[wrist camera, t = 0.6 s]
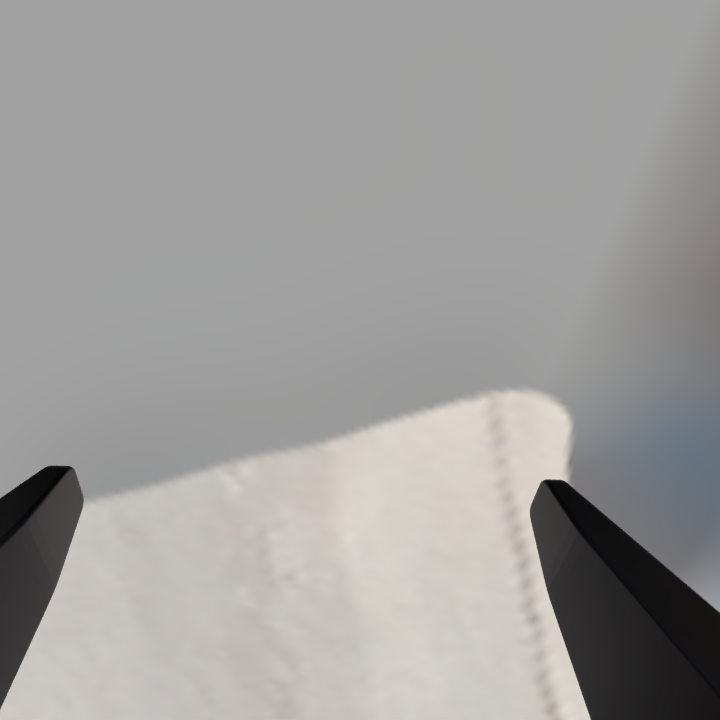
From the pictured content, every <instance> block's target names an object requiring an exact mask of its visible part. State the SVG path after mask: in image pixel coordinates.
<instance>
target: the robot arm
mask: <svg viewBox="0 0 720 720" xmlns="http://www.w3.org/2000/svg"><path fill="white" fill-rule="evenodd" d="M82 508H83V494H82V491H81V488H80V484H79V481H78V478H77V475H76V472H75V470H74V469H73V468H72V467H70V466H48V467H45V468H44V469H42V470H40V471H39V472H38V473H36V474H35V475H33V476H32V477H30V478H29V479H28V480H26V481H25V482H23V483H22V484H20V485H19V486H17V487H16V488H15V489H13V490H12V491H10V492H9V493H7V494H6V495H4V496H3V497H2V498H0V709H1V706H2V704H3V702H4V700H5V698H6V696H7V693H8V691H9V689H10V687H11V685H12V683H13V680H14V678H15V676H16V674H17V672H18V669H19V667H20V665H21V663H22V661H23V659H24V656H25V654H26V652H27V650H28V648H29V645H30V643H31V641H32V639H33V637H34V635H35V632H36V630H37V628H38V626H39V624H40V622H41V619H42V617H43V615H44V613H45V611H46V608H47V606H48V604H49V602H50V600H51V597H52V595H53V593H54V590H55V588H56V585H57V582H58V580H59V577H60V574H61V571H62V568H63V565H64V562H65V559H66V556H67V553H68V550H69V547H70V544H71V541H72V538H73V535H74V532H75V529H76V526H77V523H78V520H79V517H80V514H81V511H82ZM530 518H531V523H532V527H533V531H534V536H535V540H536V545H537V549H538V553H539V558H540V562H541V567H542V571H543V575H544V580H545V584H546V587H547V591H548V594H549V598H550V601H551V604H552V607H553V610H554V613H555V616H556V619H557V621H558V624H559V627H560V630H561V633H562V636H563V639H564V642H565V645H566V648H567V651H568V654H569V657H570V660H571V662H572V665H573V668H574V671H575V674H576V677H577V680H578V683H579V686H580V689H581V692H582V695H583V698H584V701H585V704H586V706H587V709H588V712H589V715H590V718H591V720H720V612H718V611H717V610H716V609H715V608H714V607H713V606H711V605H710V604H709V603H708V602H707V601H706V600H704V599H703V598H702V597H701V596H700V595H698V594H697V593H696V592H695V591H694V590H692V589H691V588H690V587H689V586H688V585H687V584H685V583H684V582H683V581H682V580H681V579H680V578H679V577H677V576H676V575H675V574H674V573H673V572H671V571H670V570H669V569H668V568H667V567H665V566H664V565H663V564H662V563H661V562H660V561H658V560H657V559H656V558H655V557H654V556H653V555H651V554H650V553H649V552H648V551H647V550H645V549H644V548H643V547H642V546H641V545H640V544H639V543H637V542H636V541H635V540H634V539H633V538H631V537H630V536H629V535H628V534H627V533H626V532H624V531H623V530H622V529H621V528H620V527H619V526H617V525H616V524H615V523H614V522H613V521H611V520H610V519H609V518H608V517H607V516H606V515H604V514H603V513H602V512H601V511H600V510H598V509H597V508H596V507H595V506H594V505H593V504H591V503H590V502H589V501H588V500H587V499H585V498H584V497H583V496H582V495H581V494H580V493H579V492H577V491H576V490H575V489H574V488H573V487H572V486H570V485H569V484H568V483H567V482H565V481H563V480H548V479H546V480H543V481H542V482H541V483H540V485H539V488H538V490H537V492H536V495H535V497H534V500H533V502H532V504H531V508H530Z"/></svg>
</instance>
